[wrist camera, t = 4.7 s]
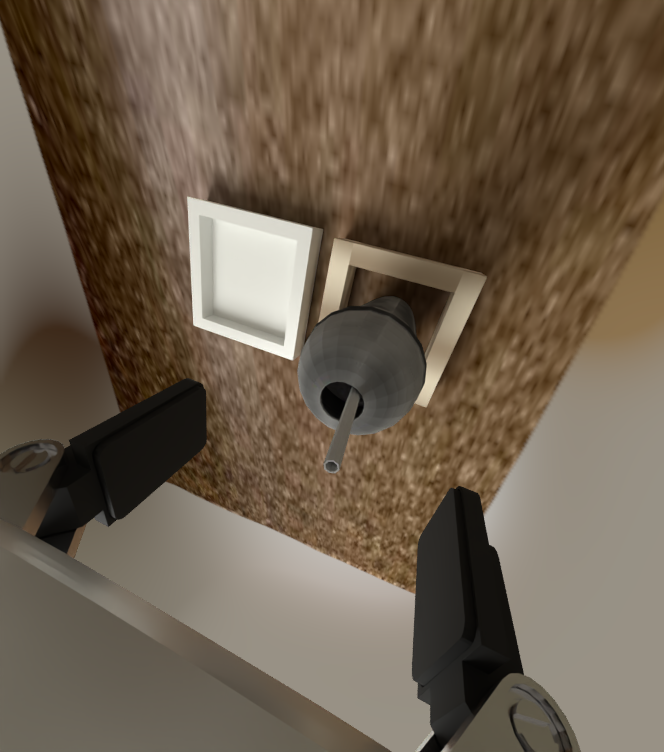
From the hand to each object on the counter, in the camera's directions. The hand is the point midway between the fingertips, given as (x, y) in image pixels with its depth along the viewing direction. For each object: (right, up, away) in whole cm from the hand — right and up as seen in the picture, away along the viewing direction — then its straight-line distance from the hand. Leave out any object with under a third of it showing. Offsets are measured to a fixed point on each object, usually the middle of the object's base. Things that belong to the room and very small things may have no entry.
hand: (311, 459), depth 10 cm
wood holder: (+6, +8, +16) cm, 19 cm away
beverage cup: (+6, +8, +16) cm, 19 cm away
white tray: (-7, +13, +18) cm, 24 cm away
